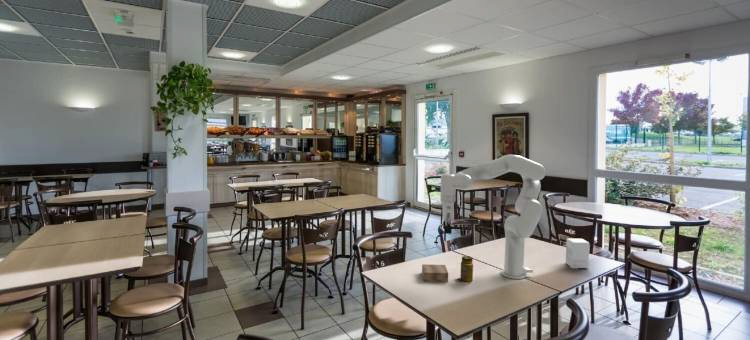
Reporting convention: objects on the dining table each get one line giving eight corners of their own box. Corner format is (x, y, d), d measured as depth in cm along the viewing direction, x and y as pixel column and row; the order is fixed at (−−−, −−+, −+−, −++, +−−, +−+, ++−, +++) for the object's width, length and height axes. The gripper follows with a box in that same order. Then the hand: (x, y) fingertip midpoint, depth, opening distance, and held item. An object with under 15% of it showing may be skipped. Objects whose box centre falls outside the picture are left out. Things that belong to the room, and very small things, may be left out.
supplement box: (581, 263, 216) (582, 238, 215) (588, 269, 208) (590, 242, 206) (564, 263, 217) (566, 237, 216) (571, 268, 208) (572, 242, 207)
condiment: (476, 281, 189) (477, 258, 188) (464, 284, 185) (465, 261, 183) (465, 276, 195) (466, 254, 194) (453, 280, 191) (454, 257, 189)
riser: (444, 274, 200) (444, 264, 199) (448, 282, 188) (448, 273, 187) (422, 273, 200) (422, 264, 200) (423, 282, 188) (424, 272, 188)
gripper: (457, 201, 183) (456, 235, 184) (453, 195, 200) (452, 227, 201) (442, 201, 183) (441, 235, 185) (439, 195, 200) (438, 226, 202)
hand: (447, 231), depth 193 cm, fingers open, 9 cm apart
